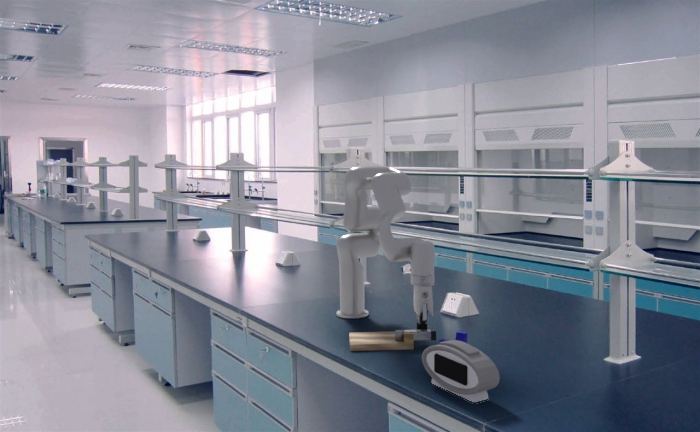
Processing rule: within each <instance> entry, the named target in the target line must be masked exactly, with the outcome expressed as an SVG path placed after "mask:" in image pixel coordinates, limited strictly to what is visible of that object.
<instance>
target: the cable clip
mask: <svg viewBox="0 0 700 432" xmlns="http://www.w3.org/2000/svg"><path fill="white" fill-rule="evenodd" d="M455 333H456V334H455V339H454V340H458V341H462V342H465V343H467V344H468V332H465V331H459V330H458V331H456V332H455ZM449 340H450V339H445V338H441V339H439V341H438V344H439V343H440V342H444V341H449Z"/></svg>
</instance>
